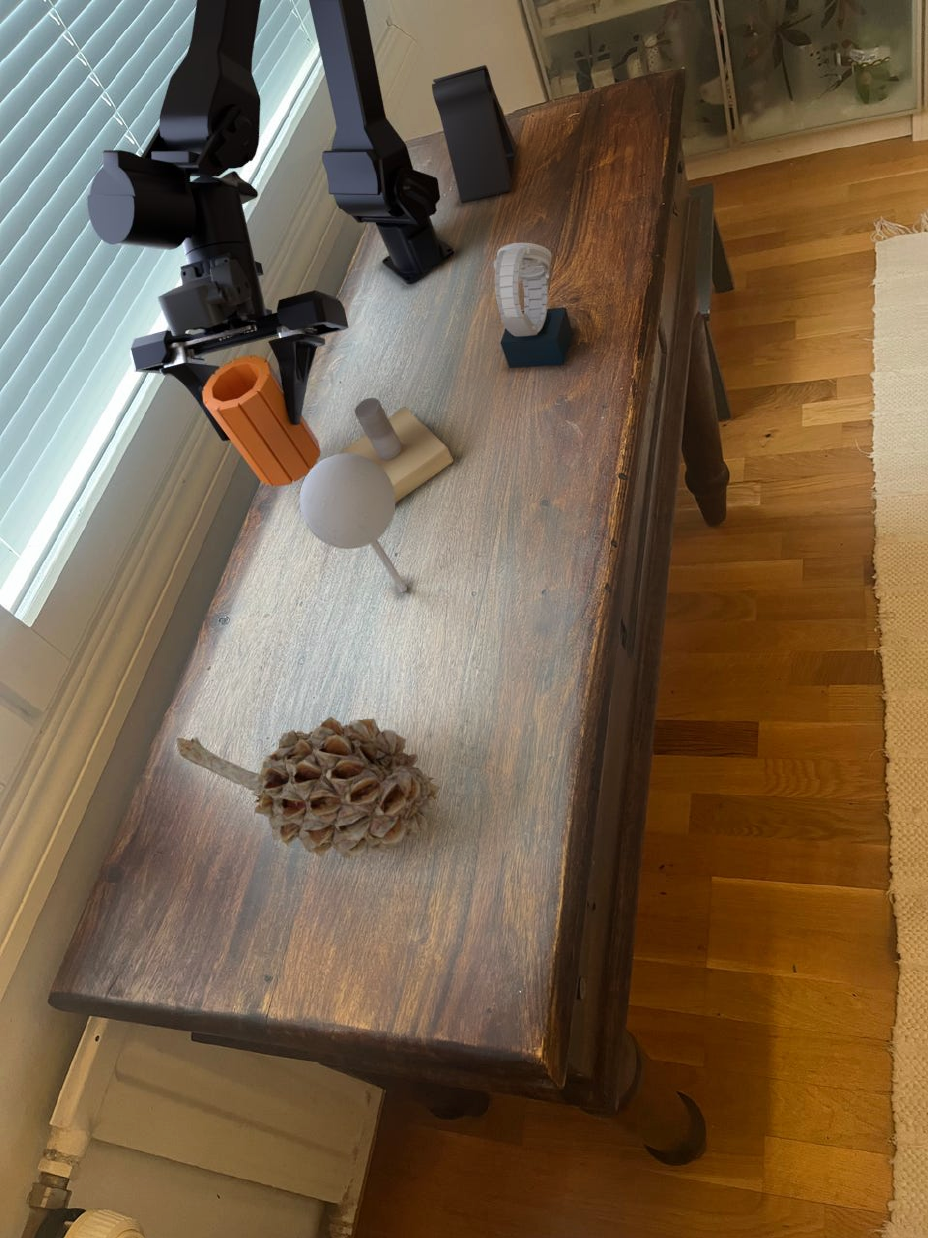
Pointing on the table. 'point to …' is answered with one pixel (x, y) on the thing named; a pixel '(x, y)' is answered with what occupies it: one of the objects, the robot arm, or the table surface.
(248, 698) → the table surface
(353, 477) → the lollipop
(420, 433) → the peg on block
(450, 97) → the phone stand
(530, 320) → the watch
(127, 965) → the table surface
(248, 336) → the robot arm
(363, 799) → the pine cone
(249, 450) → the orange fluted tube
